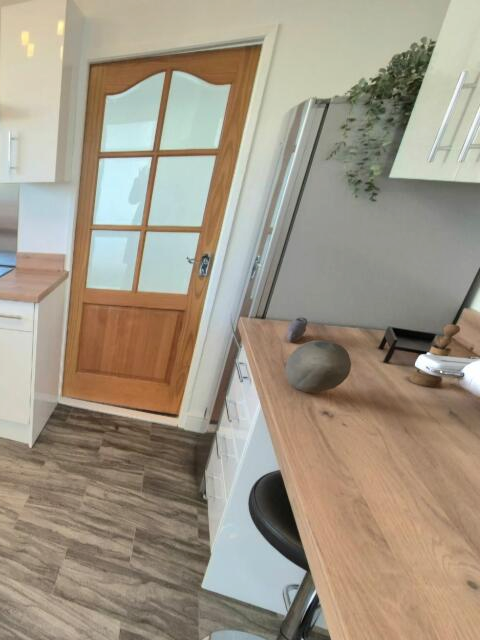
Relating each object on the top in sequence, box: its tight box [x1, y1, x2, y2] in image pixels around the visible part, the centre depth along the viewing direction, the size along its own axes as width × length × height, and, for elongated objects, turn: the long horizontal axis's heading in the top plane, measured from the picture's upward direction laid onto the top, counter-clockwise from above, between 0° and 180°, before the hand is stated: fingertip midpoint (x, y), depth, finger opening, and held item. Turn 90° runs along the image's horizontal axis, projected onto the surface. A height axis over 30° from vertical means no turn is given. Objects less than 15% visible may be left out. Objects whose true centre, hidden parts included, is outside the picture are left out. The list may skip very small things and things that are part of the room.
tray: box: [378, 326, 438, 364], centre depth 141 cm, size 12×16×8 cm
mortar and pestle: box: [408, 323, 461, 388], centre depth 123 cm, size 7×6×18 cm
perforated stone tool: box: [286, 316, 308, 343], centre depth 158 cm, size 15×5×7 cm, turn 135°
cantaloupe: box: [285, 339, 352, 394], centre depth 118 cm, size 14×14×15 cm
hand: (450, 357), depth 119 cm, fingers open, 8 cm apart
